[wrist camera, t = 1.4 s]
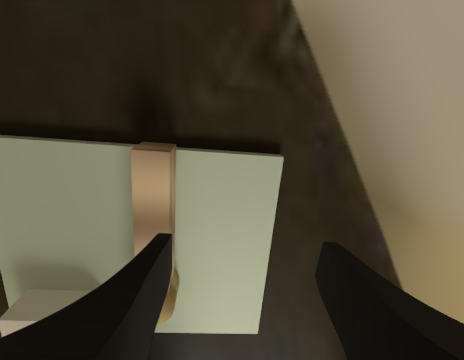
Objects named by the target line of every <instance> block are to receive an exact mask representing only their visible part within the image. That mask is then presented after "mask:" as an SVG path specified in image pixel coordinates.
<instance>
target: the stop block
mask: <svg viewBox="0 0 464 360" xmlns="http://www.w3.org/2000/svg"><path fill="white" fill-rule="evenodd" d="M89 292H91V291H81V290H43V289H27V290H26V292H25V293H24V294H23V295H22V296H21V297H20V298H19V299H18V300H17V301H16V302H15V303H14V304H13V305H12V306H11V307H10V308H9V309H8V310H7V311H6V312H5V313H4V314H3V316H2V317H1V318H0V331H1V335H2V337H3V336H6V335H8V334H11V333H13V332H15V331H17V330H19V329H22V328H24V327H26V326H28V325H31V324H33V323H35V322H37V321H39V320H41V319H43V318H45V317H47V316H49V315H51V314H53V313H55V312H57V311H59V310H61V309H62V308H64V307H66V306H68V305H70V304H71V303H73V302H75V301H76V300H78V299H80V298H81V297H83V296H85V295H86V294H88V293H89Z"/></svg>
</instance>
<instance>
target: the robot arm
mask: <svg viewBox="0 0 464 360" xmlns="http://www.w3.org/2000/svg"><path fill="white" fill-rule="evenodd" d="M171 273H172V234H170V233H158V234H157V235H156V236H155V237H154V238H153V239H152V240H151V241H150V242H149V243H148V244H147V245H146V246H145V247H144V248H143V249H142V250H141V251H140V252H139V253H138V254H137V255H136V256H135V257H134V258H133V259H132V260H131V261H130V262H129V263H128V264H126V265H125V266H124V267H123V268H122V269H121V270H119V271H118V272H117V273H116V274H115V275H113V276H112V277H111V278H110V279H108V280H107V281H106V282H104V283H103V284H101V285H100V286H99V287H97V288H96V289H94V290H93V291H91V292H89V293H88V294H86V295H85V296H83V297H81V298H80V299H78V300H76V301H75V302H73V303H71V304H70V305H68V306H66V307H64V308H62V309H61V310H59V311H57V312H55V313H53V314H51V315H49V316H47V317H45V318H43V319H41V320H39V321H37V322H35V323H33V324H31V325H28V326H26V327H24V328H22V329H19V330H17V331H15V332H13V333H11V334H8V335H6V336H3V337H2V338H1V339H0V360H147V358H148V354H149V349H150V345H151V342H152V338H153V335H154V332H155V329H156V326H157V323H158V320H159V316H160V313H161V310H162V307H163V304H164V301H165V298H166V295H167V292H168V288H169V283H170V278H171ZM315 278H316V282H317V285H318V289H319V292H320V295H321V298H322V300H323V302H324V305H325V307H326V309H327V312H328V314H329V316H330V318H331V321H332V323H333V325H334V327H335V330H336V332H337V334H338V336H339V339H340V341H341V343H342V346H343V348H344V351H345V353H346V356H347V359H348V360H464V324H463V323H461V322H459V321H457V320H455V319H453V318H451V317H449V316H447V315H445V314H443V313H441V312H439V311H437V310H435V309H434V308H432V307H430V306H428V305H426V304H424V303H423V302H421V301H419V300H418V299H416V298H414V297H413V296H411V295H409V294H408V293H406V292H404V291H403V290H401V289H400V288H398V287H397V286H395V285H394V284H392V283H391V282H389V281H388V280H386V279H385V278H383V277H382V276H381V275H379V274H378V273H376V272H375V271H374V270H372V269H371V268H370V267H368V266H367V265H366V264H364V263H363V262H362V261H360V260H359V259H358V258H357V257H355V256H354V255H353V254H351V253H350V252H349V251H347V250H346V249H345V248H343V247H342V246H341V245H339V244H338V243H336V242H323V246H322V250H321V253H320V257H319V261H318V265H317V269H316V273H315Z"/></svg>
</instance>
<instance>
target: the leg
mask: <svg viewBox="0 0 464 360" xmlns="http://www.w3.org/2000/svg"><path fill="white" fill-rule="evenodd" d="M130 152H131V178H132V205H133V231H134V257H135V256H136V255H137V254H138V253H139V252H140V251H141V250H142V249H143V248H144V247H145V246H146V245H147V244H148V243H149V242H150V241H151V240H152V239H153V238H154V237H155V236H156V235H157V234H158V233H170V234H172V273H171V278H170V283H169V288H168V292H167V295H166V298H165V301H164V304H163V307H162V310H161V313H160V316H159V320H158V323H157V324H161V323H164V322H166V321H167V320H168V319H170V317H171V316H172V315H173V312H174V308H175V303H176V297H177V292H178V287H179V277H178V274H177V273H176V272H175V271H174V253H175V195H176V144H168V143H154V142H141V143H140V144H138V145H137V146H135V147H134V148H132V149H131V150H130Z"/></svg>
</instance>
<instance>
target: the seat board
mask: <svg viewBox="0 0 464 360" xmlns="http://www.w3.org/2000/svg"><path fill="white" fill-rule="evenodd" d="M135 146H137V144H123V143H109V142H95V141H80V140H66V139H52V138H38V137H24V136H9V135H0V270H1V275H2V279H3V283H4V288H5V292H6V297H7V301H8V305H9V308H10V307H11V306H12V305H13V304H14V303H15V302H16V301H17V300H18V299H19V298H20V297H21V296H22V295H23V294H24V293H25V292H26V290H27V289H43V290H81V291H93V290H94V289H96V288H97V287H99V286H100V285H101V284H103V283H104V282H106V281H107V280H108V279H110V278H111V277H112V276H113V275H115V274H116V273H117V272H118V271H119V270H121V269H122V268H123V267H124V266H125V265H126V264H128V263H129V262H130V261H131V260H132V259H133V258H134V231H133V205H132V178H131V152H130V150H131V149H132V148H134V147H135ZM283 159H284V157H283V156H282V155H280V154H265V153H251V152H237V151H223V150H209V149H194V148H180V147H176V195H175V253H174V271H175V272H176V273H177V274H178V277H179V287H178V292H177V297H176V303H175V308H174V312H173V315H172V316H171V317H170V319H168V320H167V321H166V322H164V323H161V324H157V326H156V329H155V332H159V333H232V334H258V327H259V320H260V313H261V307H262V300H263V293H264V286H265V280H266V273H267V266H268V260H269V253H270V246H271V239H272V233H273V226H274V219H275V212H276V206H277V199H278V192H279V186H280V179H281V172H282V165H283Z"/></svg>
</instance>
